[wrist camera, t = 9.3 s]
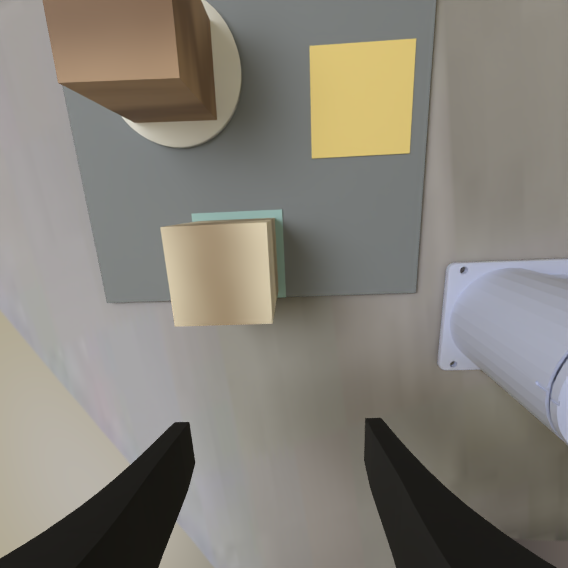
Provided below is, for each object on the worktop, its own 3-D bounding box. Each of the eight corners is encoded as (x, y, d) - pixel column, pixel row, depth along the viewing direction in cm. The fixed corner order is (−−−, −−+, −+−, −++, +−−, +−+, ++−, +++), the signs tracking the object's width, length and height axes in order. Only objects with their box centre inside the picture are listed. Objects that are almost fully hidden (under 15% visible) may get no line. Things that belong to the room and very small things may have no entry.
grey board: (434, -22, 16) (439, -29, 16) (413, 291, 21) (416, 293, 20) (50, 8, 17) (44, 2, 17) (110, 301, 22) (106, 303, 21)
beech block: (274, 217, 19) (266, 222, 14) (278, 290, 21) (272, 323, 15) (199, 220, 20) (160, 227, 14) (207, 293, 21) (174, 326, 15)
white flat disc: (236, -12, 16) (234, -20, 16) (246, 144, 18) (245, 142, 18) (96, -1, 17) (89, -8, 16) (122, 151, 19) (116, 150, 18)
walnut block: (217, 120, 18) (179, 77, 12) (134, 122, 18) (58, 82, 12) (210, 19, 16) (163, -82, 11) (121, 24, 17) (28, -74, 11)
